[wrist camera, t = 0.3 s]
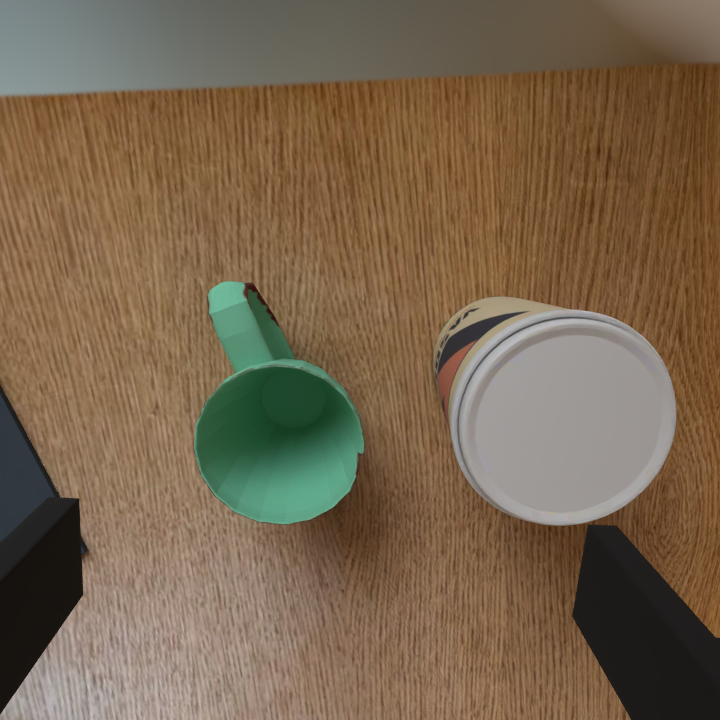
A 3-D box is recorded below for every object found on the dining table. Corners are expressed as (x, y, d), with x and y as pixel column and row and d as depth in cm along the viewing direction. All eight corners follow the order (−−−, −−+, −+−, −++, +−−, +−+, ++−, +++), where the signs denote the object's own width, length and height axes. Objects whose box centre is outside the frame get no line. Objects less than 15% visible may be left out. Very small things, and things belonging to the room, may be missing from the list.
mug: (379, 434, 37) (388, 494, 29) (257, 476, 37) (232, 546, 29) (309, 247, 34) (298, 255, 26) (178, 295, 34) (128, 318, 26)
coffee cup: (442, 264, 34) (493, 287, 23) (595, 303, 35) (720, 345, 23) (400, 414, 36) (427, 506, 25) (545, 448, 37) (638, 553, 25)
